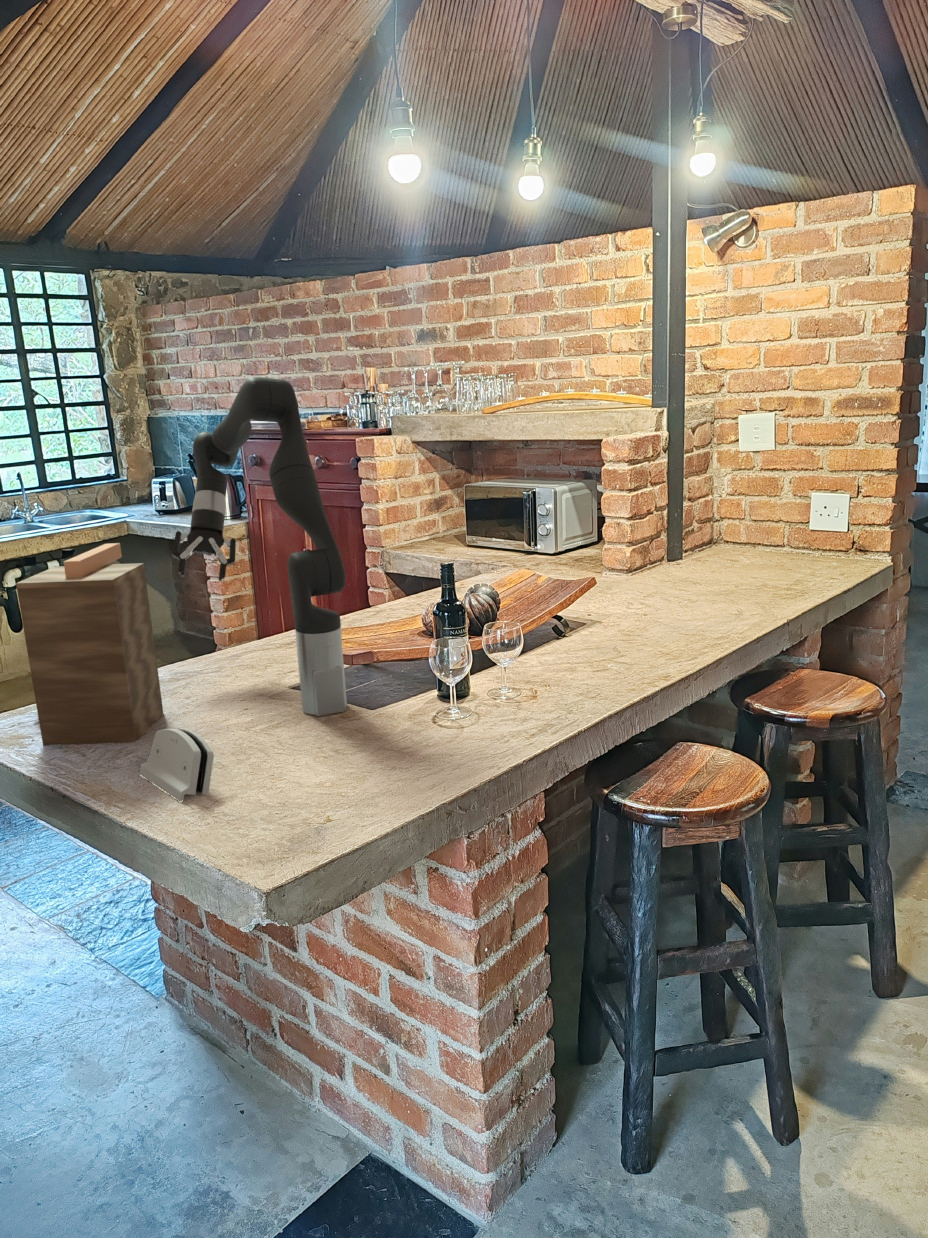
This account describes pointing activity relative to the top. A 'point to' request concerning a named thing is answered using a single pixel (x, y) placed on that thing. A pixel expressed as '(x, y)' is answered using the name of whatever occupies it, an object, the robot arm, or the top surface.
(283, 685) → the top surface
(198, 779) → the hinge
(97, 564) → the tan block
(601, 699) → the top surface
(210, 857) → the top surface
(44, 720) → the pedestal
